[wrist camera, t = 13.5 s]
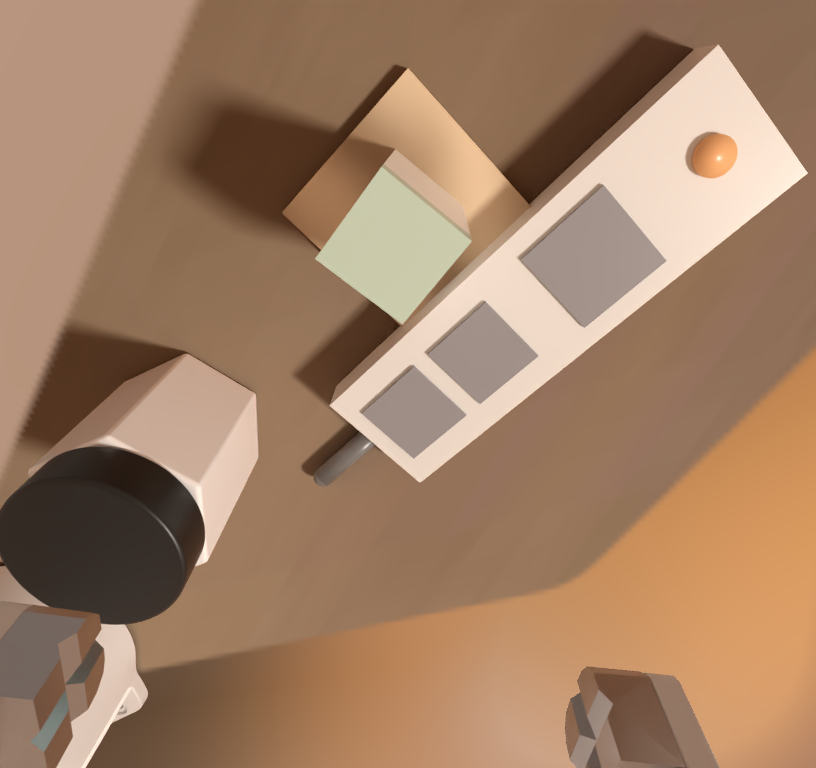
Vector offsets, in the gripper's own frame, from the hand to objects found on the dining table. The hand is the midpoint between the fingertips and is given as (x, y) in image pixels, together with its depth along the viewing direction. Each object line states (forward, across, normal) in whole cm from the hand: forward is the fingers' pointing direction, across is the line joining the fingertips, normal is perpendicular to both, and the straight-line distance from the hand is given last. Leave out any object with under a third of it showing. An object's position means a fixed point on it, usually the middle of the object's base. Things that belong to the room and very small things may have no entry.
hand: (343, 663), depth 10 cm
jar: (+24, +11, +10) cm, 29 cm away
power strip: (+24, -6, +1) cm, 24 cm away
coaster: (+24, 0, -4) cm, 24 cm away
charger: (+23, 0, -4) cm, 23 cm away
